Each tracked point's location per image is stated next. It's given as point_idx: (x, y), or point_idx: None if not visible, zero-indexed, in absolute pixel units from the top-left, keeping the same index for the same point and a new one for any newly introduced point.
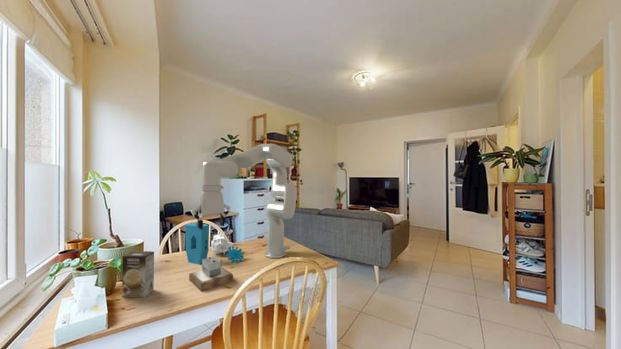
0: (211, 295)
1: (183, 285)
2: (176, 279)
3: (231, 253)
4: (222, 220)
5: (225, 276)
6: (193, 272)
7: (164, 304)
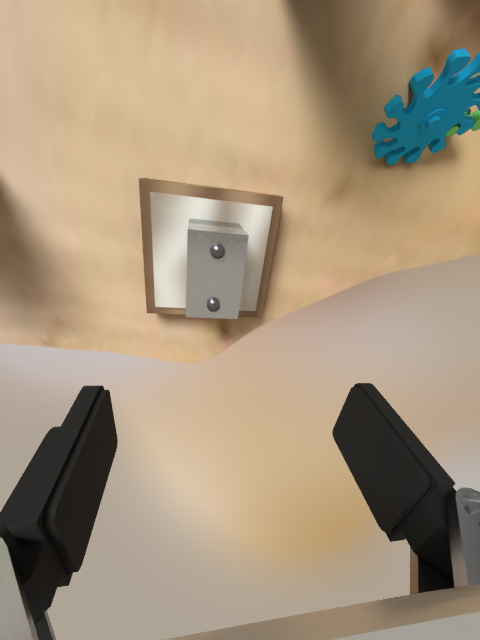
0: (165, 342)
1: (111, 213)
2: (96, 114)
3: (419, 110)
4: (363, 493)
5: None
6: (159, 182)
7: (32, 306)
